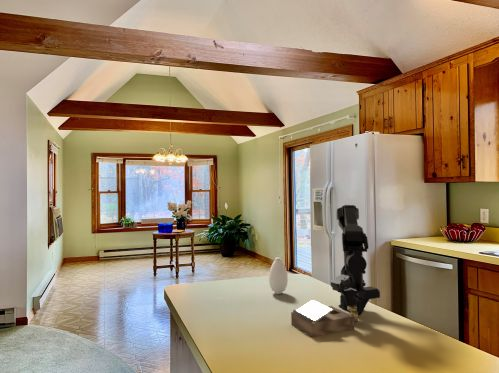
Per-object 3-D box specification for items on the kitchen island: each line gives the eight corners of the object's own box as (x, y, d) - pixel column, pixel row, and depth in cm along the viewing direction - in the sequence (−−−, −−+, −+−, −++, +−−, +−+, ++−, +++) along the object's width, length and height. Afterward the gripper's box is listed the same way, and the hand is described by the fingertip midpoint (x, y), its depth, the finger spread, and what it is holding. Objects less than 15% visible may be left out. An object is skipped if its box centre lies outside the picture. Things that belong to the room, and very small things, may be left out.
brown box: (331, 317, 131) (331, 303, 131) (354, 328, 120) (354, 313, 120) (291, 324, 124) (291, 309, 124) (311, 337, 113) (311, 320, 114)
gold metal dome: (355, 317, 130) (355, 303, 131) (364, 322, 126) (364, 307, 126) (344, 319, 129) (344, 305, 129) (353, 324, 124) (353, 309, 124)
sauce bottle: (266, 292, 164) (265, 251, 164) (281, 290, 167) (281, 249, 168) (274, 297, 157) (274, 253, 157) (291, 294, 160) (290, 252, 160)
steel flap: (313, 301, 127) (312, 300, 127) (332, 310, 117) (332, 309, 117) (296, 312, 125) (295, 310, 125) (315, 322, 115) (314, 320, 115)
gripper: (318, 264, 133) (318, 308, 133) (352, 274, 116) (353, 325, 116) (343, 261, 137) (344, 304, 137) (380, 271, 120) (381, 320, 120)
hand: (354, 313), depth 127 cm, fingers closed on gold metal dome, 5 cm apart
